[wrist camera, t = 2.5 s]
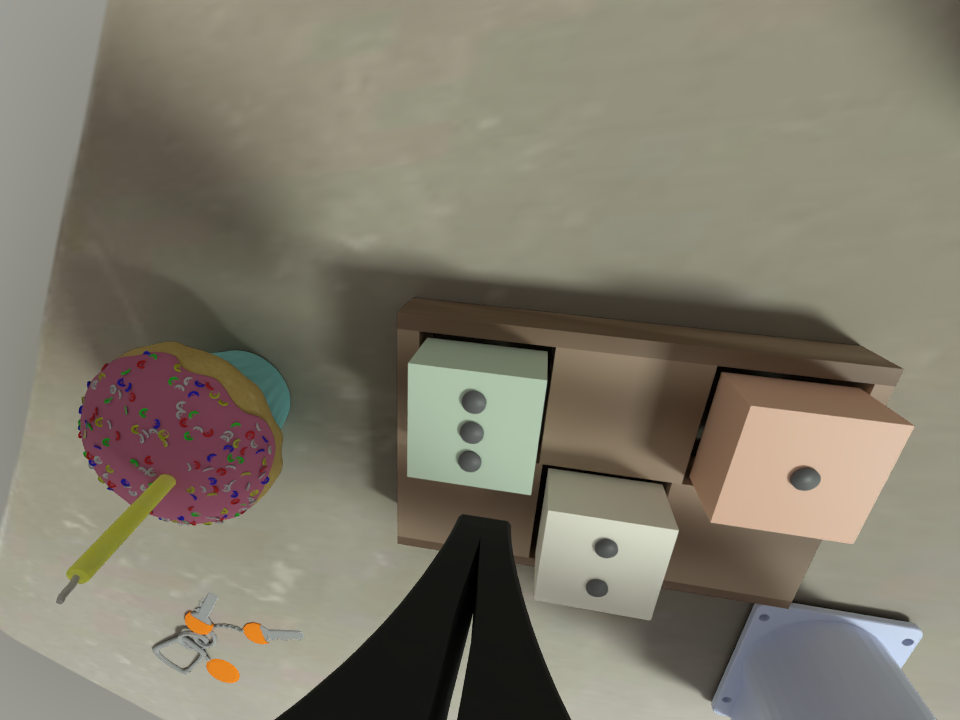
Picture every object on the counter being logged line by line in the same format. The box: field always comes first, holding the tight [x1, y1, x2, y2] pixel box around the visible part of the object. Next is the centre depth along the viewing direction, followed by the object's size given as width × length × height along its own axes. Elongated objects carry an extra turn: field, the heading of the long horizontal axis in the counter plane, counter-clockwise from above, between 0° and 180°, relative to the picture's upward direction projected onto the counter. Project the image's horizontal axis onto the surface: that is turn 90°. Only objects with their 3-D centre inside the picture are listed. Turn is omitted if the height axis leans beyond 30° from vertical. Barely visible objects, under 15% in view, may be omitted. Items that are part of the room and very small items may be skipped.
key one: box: [689, 372, 914, 544], centre depth 17 cm, size 5×5×3 cm
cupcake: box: [56, 342, 290, 604], centre depth 18 cm, size 9×8×12 cm
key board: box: [397, 298, 904, 609], centre depth 21 cm, size 12×19×2 cm, turn 86°
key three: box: [407, 337, 548, 495], centre depth 18 cm, size 5×5×3 cm
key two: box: [534, 468, 679, 621], centre depth 20 cm, size 5×5×3 cm
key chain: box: [153, 592, 304, 683], centre depth 33 cm, size 13×7×1 cm, turn 132°
